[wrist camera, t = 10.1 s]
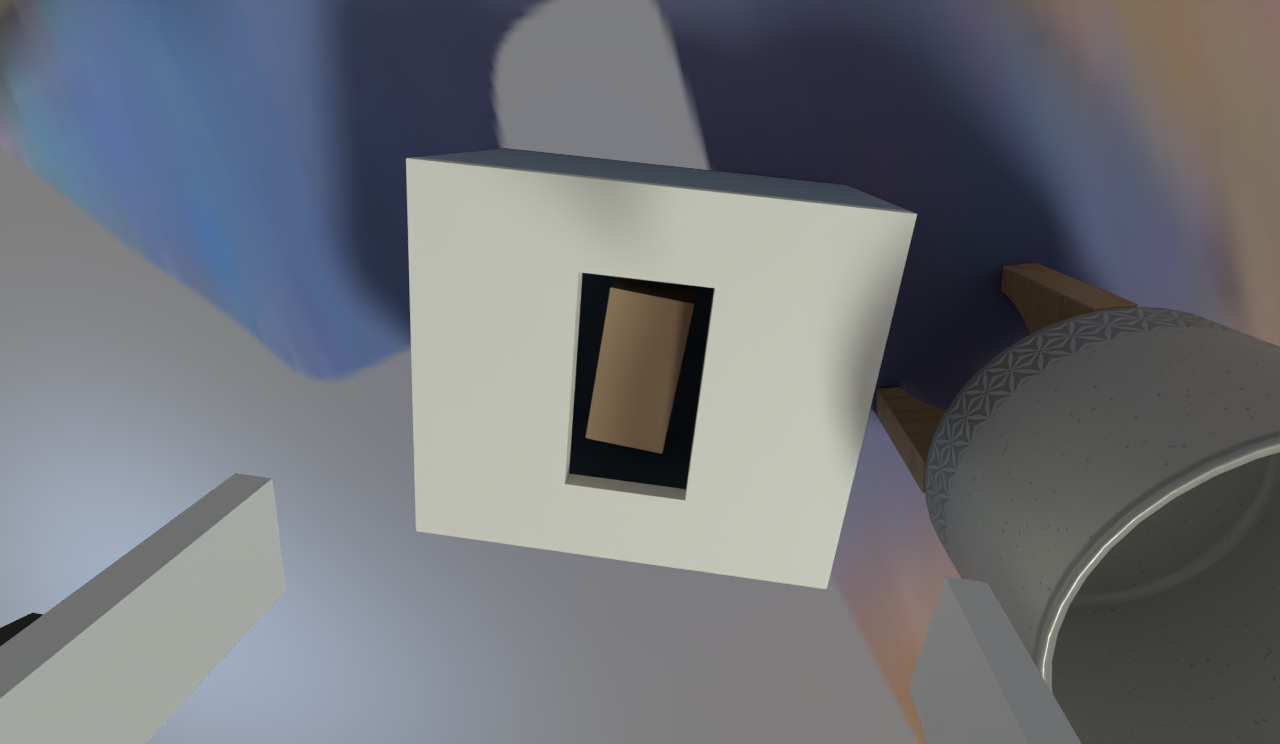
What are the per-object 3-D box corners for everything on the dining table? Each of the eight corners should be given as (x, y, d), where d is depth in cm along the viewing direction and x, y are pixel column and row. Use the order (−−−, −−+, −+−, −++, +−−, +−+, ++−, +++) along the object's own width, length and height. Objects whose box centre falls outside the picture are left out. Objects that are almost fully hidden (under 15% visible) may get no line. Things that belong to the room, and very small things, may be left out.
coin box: (505, 148, 31) (406, 158, 21) (846, 185, 30) (917, 214, 20) (498, 416, 36) (416, 531, 26) (791, 454, 35) (826, 589, 25)
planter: (1171, 249, 30) (1746, 399, 13) (1134, 497, 34) (1535, 844, 18) (876, 277, 32) (1061, 442, 15) (876, 511, 36) (1021, 839, 19)
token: (615, 360, 34) (585, 437, 25) (636, 245, 32) (610, 287, 23) (673, 372, 34) (662, 453, 25) (697, 257, 32) (694, 304, 23)
